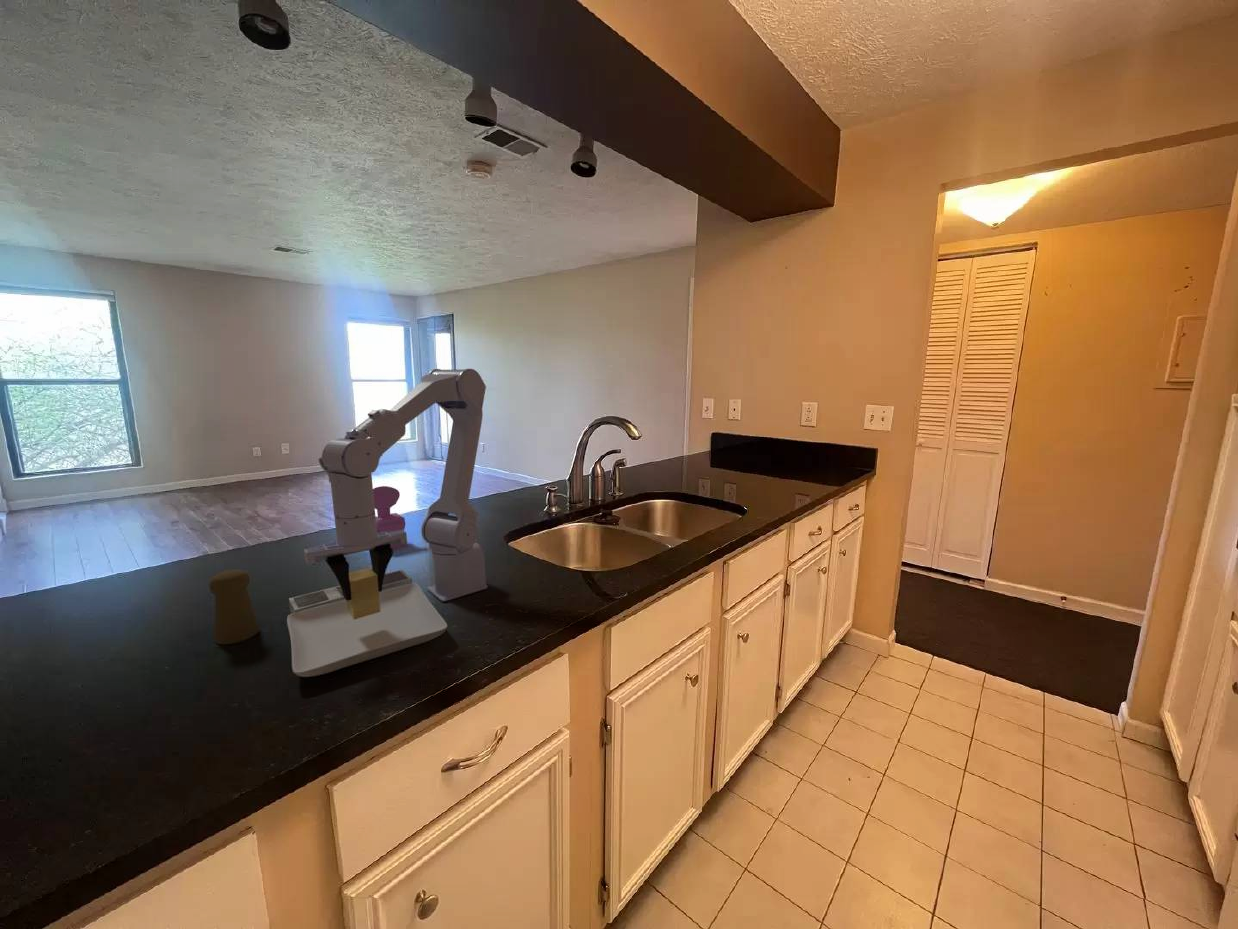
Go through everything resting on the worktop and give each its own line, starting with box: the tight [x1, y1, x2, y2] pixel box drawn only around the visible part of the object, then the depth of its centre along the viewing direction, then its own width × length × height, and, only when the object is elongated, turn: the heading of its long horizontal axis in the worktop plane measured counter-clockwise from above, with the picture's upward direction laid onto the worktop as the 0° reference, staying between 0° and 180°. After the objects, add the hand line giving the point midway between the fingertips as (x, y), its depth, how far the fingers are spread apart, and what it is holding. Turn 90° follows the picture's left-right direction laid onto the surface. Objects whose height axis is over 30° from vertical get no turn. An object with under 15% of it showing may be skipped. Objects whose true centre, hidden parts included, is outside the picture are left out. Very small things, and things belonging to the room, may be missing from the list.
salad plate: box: [286, 582, 448, 678], centre depth 80 cm, size 21×21×3 cm
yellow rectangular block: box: [346, 567, 381, 620], centre depth 80 cm, size 4×4×6 cm
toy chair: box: [373, 485, 408, 550], centre depth 123 cm, size 8×9×15 cm
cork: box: [208, 569, 261, 645], centre depth 80 cm, size 6×6×11 cm
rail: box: [288, 569, 413, 614], centre depth 93 cm, size 20×6×2 cm, turn 132°
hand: (363, 594), depth 79 cm, fingers closed on yellow rectangular block, 4 cm apart
